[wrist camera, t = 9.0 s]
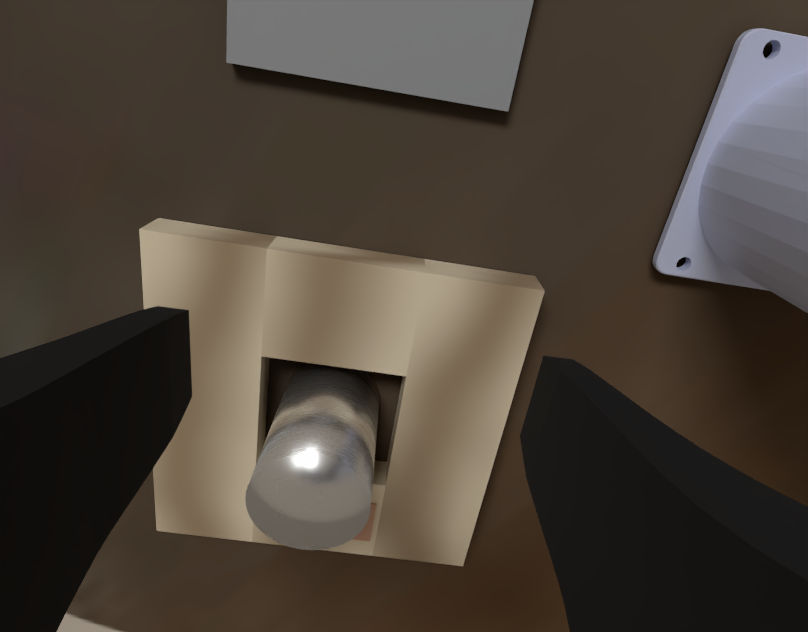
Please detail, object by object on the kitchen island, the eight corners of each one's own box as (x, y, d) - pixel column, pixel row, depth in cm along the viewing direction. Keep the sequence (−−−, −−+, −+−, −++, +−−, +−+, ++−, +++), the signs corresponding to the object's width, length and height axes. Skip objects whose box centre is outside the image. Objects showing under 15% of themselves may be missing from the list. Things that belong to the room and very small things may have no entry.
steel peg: (378, 358, 21) (369, 456, 16) (380, 437, 23) (371, 550, 17) (281, 357, 21) (237, 455, 16) (289, 436, 23) (253, 549, 17)
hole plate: (535, 276, 20) (545, 292, 18) (459, 539, 25) (463, 568, 24) (158, 218, 19) (138, 229, 17) (170, 505, 25) (155, 532, 23)
